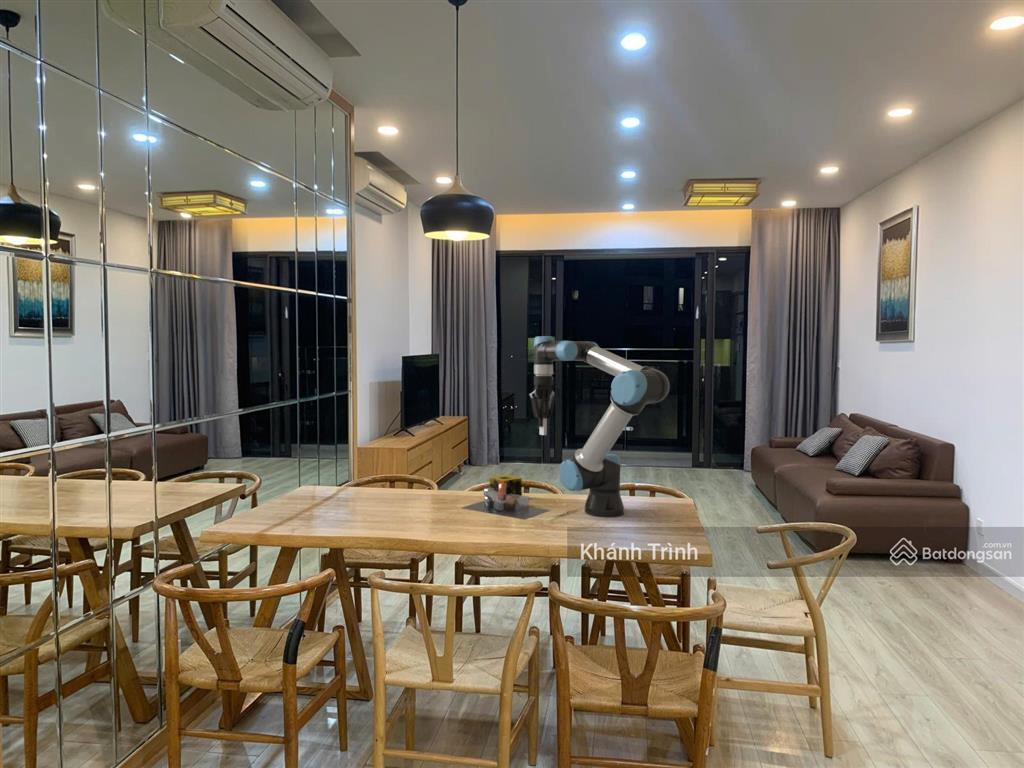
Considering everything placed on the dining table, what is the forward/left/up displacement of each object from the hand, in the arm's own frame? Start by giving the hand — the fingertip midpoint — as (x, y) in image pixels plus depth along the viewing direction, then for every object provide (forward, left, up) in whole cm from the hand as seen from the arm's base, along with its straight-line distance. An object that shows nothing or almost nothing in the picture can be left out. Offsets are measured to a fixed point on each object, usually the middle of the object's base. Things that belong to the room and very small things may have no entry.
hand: (543, 434), depth 264 cm
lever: (+8, +20, -27) cm, 35 cm away
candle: (+18, -1, -29) cm, 35 cm away
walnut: (+6, +13, -28) cm, 31 cm away
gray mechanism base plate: (+6, +16, -29) cm, 34 cm away
